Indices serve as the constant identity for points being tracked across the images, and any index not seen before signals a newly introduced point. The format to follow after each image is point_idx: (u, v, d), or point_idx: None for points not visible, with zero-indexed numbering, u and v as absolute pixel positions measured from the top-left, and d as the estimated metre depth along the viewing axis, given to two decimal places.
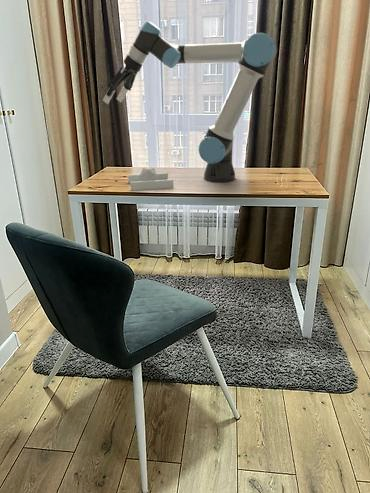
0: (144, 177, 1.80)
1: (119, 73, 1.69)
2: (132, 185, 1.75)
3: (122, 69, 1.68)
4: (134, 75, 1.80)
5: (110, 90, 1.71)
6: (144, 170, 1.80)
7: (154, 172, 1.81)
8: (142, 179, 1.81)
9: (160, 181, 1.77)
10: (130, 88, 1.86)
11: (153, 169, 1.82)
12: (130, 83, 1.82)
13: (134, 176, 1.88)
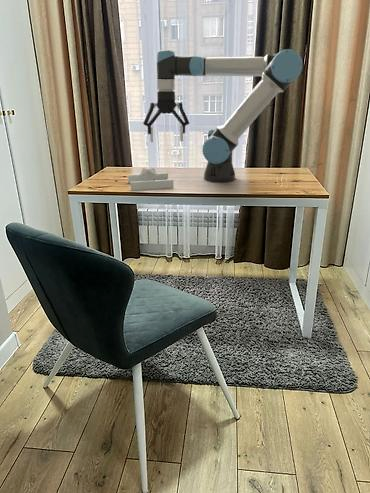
0: (144, 177, 1.80)
1: None
2: (132, 185, 1.75)
3: (150, 103, 1.72)
4: (180, 108, 1.74)
5: None
6: (144, 170, 1.80)
7: (154, 172, 1.81)
8: (142, 179, 1.81)
9: (160, 181, 1.77)
10: (187, 124, 1.78)
11: (153, 169, 1.82)
12: (180, 118, 1.76)
13: (134, 176, 1.88)
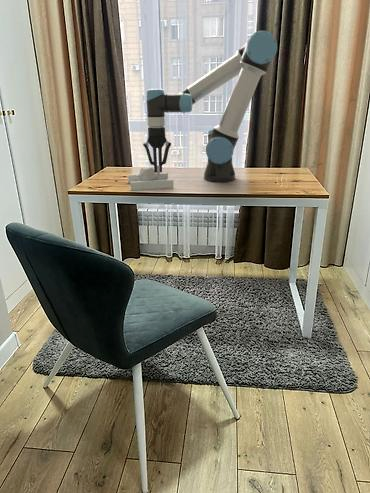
0: (143, 177, 1.79)
1: None
2: (132, 185, 1.75)
3: (143, 145, 1.78)
4: (166, 146, 1.79)
5: (154, 166, 1.82)
6: (143, 170, 1.80)
7: (153, 172, 1.81)
8: (141, 179, 1.80)
9: (160, 181, 1.77)
10: (163, 163, 1.81)
11: (152, 169, 1.82)
12: (161, 156, 1.80)
13: (134, 176, 1.88)
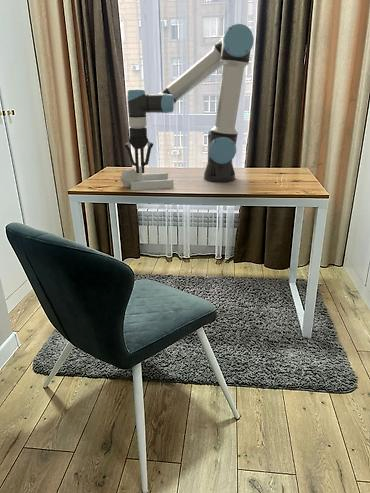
0: (127, 179, 1.77)
1: (127, 149, 1.77)
2: (132, 185, 1.75)
3: None
4: (148, 147, 1.77)
5: None
6: (125, 172, 1.78)
7: (135, 173, 1.79)
8: (124, 181, 1.77)
9: (160, 181, 1.77)
10: (145, 164, 1.79)
11: (133, 170, 1.80)
12: (143, 157, 1.78)
13: None
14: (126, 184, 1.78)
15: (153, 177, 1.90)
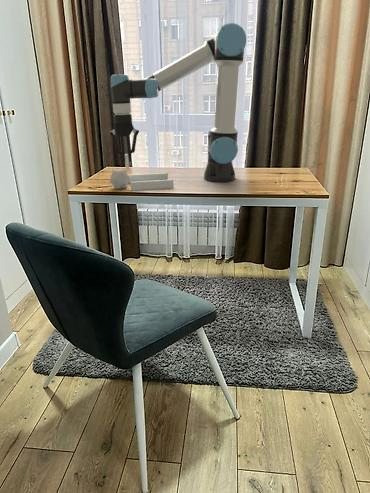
0: (119, 180, 1.74)
1: None
2: (132, 185, 1.75)
3: None
4: (134, 134, 1.73)
5: (122, 155, 1.77)
6: (117, 173, 1.75)
7: (127, 174, 1.77)
8: (116, 182, 1.75)
9: (160, 181, 1.77)
10: (132, 151, 1.76)
11: (124, 171, 1.78)
12: (129, 145, 1.75)
13: (134, 176, 1.88)
14: (117, 185, 1.76)
15: (153, 177, 1.90)
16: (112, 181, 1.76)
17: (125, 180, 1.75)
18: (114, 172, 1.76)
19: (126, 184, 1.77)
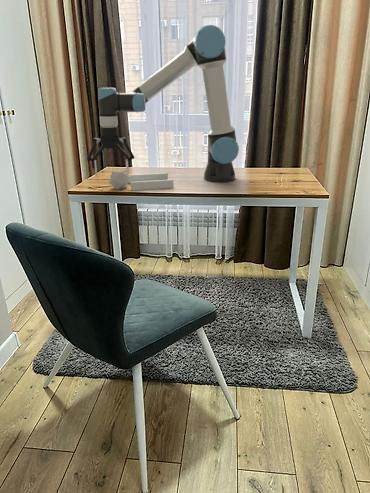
0: (118, 180, 1.75)
1: (93, 144, 1.73)
2: (132, 185, 1.75)
3: (94, 139, 1.72)
4: (124, 143, 1.74)
5: None
6: (116, 173, 1.75)
7: (126, 174, 1.77)
8: (116, 183, 1.75)
9: (160, 181, 1.77)
10: (132, 158, 1.77)
11: (123, 171, 1.78)
12: (124, 152, 1.75)
13: (134, 176, 1.88)
14: (117, 186, 1.76)
15: (153, 177, 1.90)
16: (112, 182, 1.76)
17: (124, 180, 1.76)
18: (113, 173, 1.76)
19: (126, 184, 1.78)
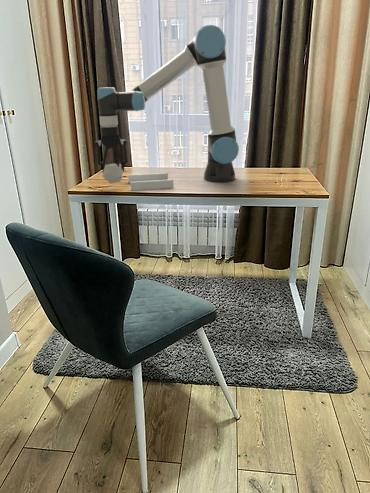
0: (113, 174, 1.72)
1: None
2: (132, 185, 1.75)
3: (95, 143, 1.73)
4: (123, 145, 1.74)
5: (102, 166, 1.77)
6: (110, 167, 1.72)
7: (119, 167, 1.75)
8: (110, 176, 1.72)
9: (160, 181, 1.77)
10: (125, 162, 1.77)
11: (116, 165, 1.75)
12: (120, 155, 1.75)
13: (134, 176, 1.88)
14: (112, 179, 1.73)
15: (153, 177, 1.90)
16: (106, 176, 1.73)
17: (119, 173, 1.73)
18: (106, 166, 1.73)
19: (120, 177, 1.75)
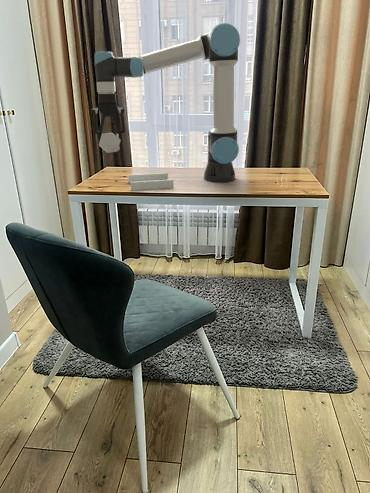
0: (110, 142, 1.67)
1: None
2: (132, 185, 1.75)
3: (92, 110, 1.67)
4: (120, 113, 1.69)
5: (99, 136, 1.71)
6: (106, 135, 1.67)
7: (116, 136, 1.70)
8: (107, 145, 1.67)
9: (160, 181, 1.77)
10: (122, 131, 1.72)
11: (113, 134, 1.70)
12: (117, 124, 1.70)
13: (134, 176, 1.88)
14: (108, 148, 1.68)
15: (153, 177, 1.90)
16: (102, 144, 1.68)
17: (116, 142, 1.68)
18: (103, 135, 1.68)
19: (117, 147, 1.70)
